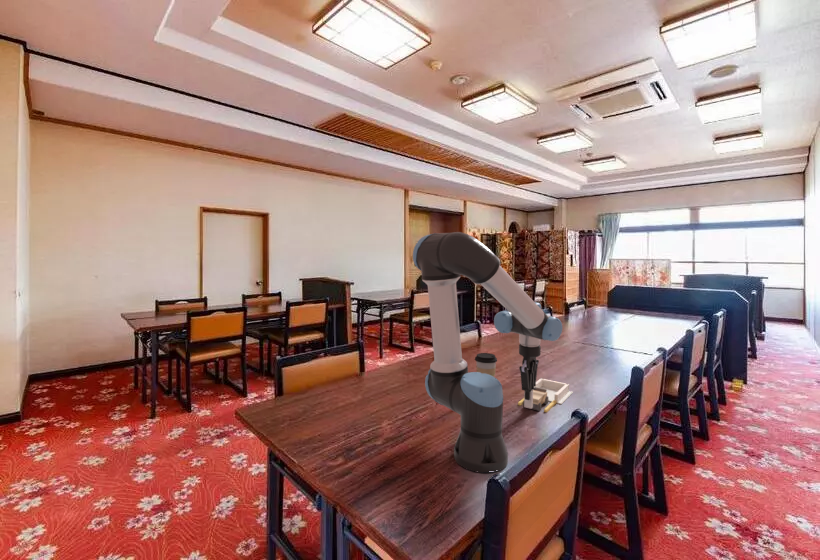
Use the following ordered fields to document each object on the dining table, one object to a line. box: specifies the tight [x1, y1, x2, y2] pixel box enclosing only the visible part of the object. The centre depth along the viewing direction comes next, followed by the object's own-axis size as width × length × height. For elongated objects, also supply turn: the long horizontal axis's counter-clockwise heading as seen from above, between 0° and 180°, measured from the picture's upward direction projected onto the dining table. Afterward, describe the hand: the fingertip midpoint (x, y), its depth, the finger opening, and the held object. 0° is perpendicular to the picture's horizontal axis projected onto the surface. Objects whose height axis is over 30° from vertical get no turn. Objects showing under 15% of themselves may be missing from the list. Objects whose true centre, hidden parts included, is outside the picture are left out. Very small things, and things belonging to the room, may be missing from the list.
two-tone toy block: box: [522, 387, 549, 412], centre depth 145 cm, size 11×6×6 cm, turn 142°
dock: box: [517, 377, 574, 413], centre depth 152 cm, size 27×15×3 cm, turn 142°
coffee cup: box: [474, 352, 498, 378], centre depth 161 cm, size 9×9×15 cm
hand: (528, 407), depth 138 cm, fingers closed
